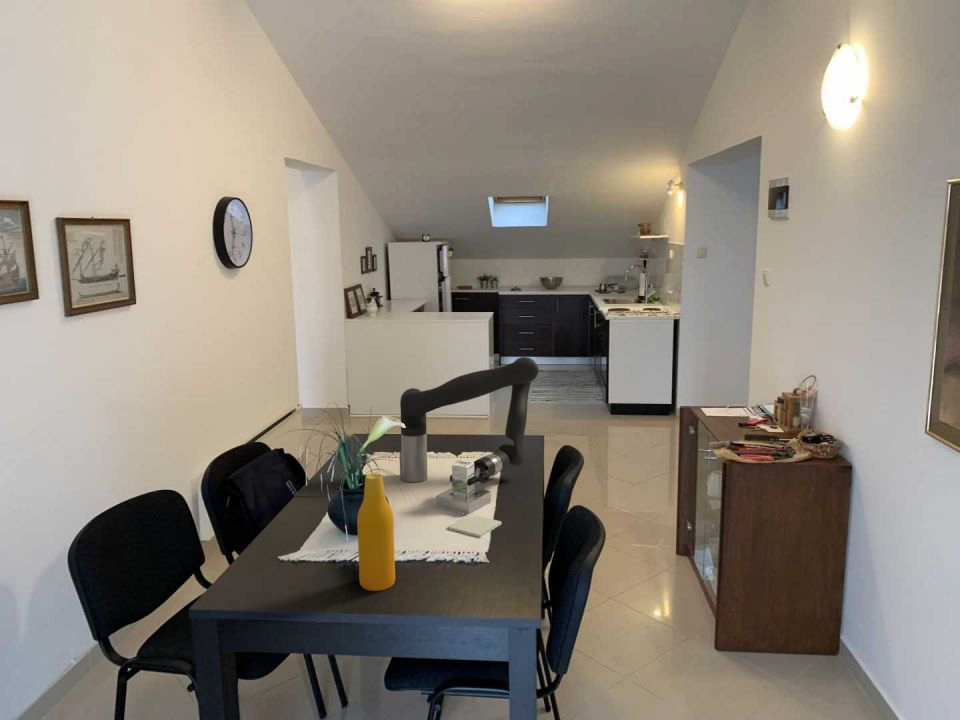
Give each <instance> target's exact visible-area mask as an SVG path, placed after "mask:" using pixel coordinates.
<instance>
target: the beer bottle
mask: <svg viewBox="0 0 960 720" xmlns="http://www.w3.org/2000/svg"><path fill="white" fill-rule="evenodd" d="M364 478H365V480H364V492H363V501H362V503H361V505H360V507H359V510H358V513H357V519H356V522H357V523H356V525H357V542H358V547H357V548H358V549H357V551H358V569H359V570H358V572H359V573H358V575H359V577H358V578H359V584H360V586H361V587H362V588H363V589H364V590H365V591H371V592H379V591H385V590H387V589H389V588H391V587H393V585H394V584H395V581H396V567H395V566H396V565H395V564H396V563H395V561H396V560H395V559H396V558H395V534H394V533H395V532H394V531H395V530H394V527H395V526H394V522H395V521H394V515H393V510H392V507H391V506H390V504H389V502H388V500H387V497H386V492H385V485H384V479H383V475H382V474H380V473H369V474H366V475H365V477H364Z"/></svg>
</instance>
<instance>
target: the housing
mask: <svg viewBox="0 0 960 720" xmlns="http://www.w3.org/2000/svg"><path fill="white" fill-rule="evenodd" d="M474 493H475V495H473V496H471V497H469V498H467V499H465V498H461V497H456V496H453V489H452V487H451V488H449V489H447V490H445V491H443V492H441V493H438V494H437V495H436V496H435V497H436V498H435V502H436V503H435V504H436V505H435V506H436V508H437V509H442V508H443V509H442V510H446V509H447V510H446V511H450V510H451V511H450V512H454V511H455V513H458V512H460V513H459V514H462V513H464V514H463V515H466V514H471V513H472V514H474V513H475V512H474V511H476V510H477V511H479V510H481V509H482V508H484V507H486V506H488V505H489V504H491V503H490V502H492V498H491V497H492V491H491V490H486V489H484V488H483V489H481V488H478V487H474ZM487 504H488V505H487ZM485 505H486V506H485ZM483 506H484V507H483ZM480 508H481V509H480ZM478 509H479V510H478ZM477 511H476V512H477ZM473 512H474V513H473Z"/></svg>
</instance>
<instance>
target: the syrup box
mask: <svg viewBox="0 0 960 720" xmlns="http://www.w3.org/2000/svg"><path fill="white" fill-rule="evenodd" d="M451 475H452V482H451V485H452V487H451V488H452V489H453V496H456V497H461V498H465V499H467V498H469V497H471V496H473V495H475V493H474V488H475V484H473V485H471V486H468V485H467V480H468V479H469V478H471V477H473V476H474V461H467V460H457V461H455V462H454V463H453V464H451Z"/></svg>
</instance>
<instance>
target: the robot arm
mask: <svg viewBox="0 0 960 720" xmlns="http://www.w3.org/2000/svg"><path fill="white" fill-rule="evenodd" d="M539 370H540V369H539V364H538V363H537V362H536V361H535V360H534V359H532V358H530V357H527V356H521V357H518V358H516V359H515V360H514V361H513V362H511V363H509V364H506V365H504V366H503V365H502V366H500V367H496V368H490V369H483V370H478V371H477V370H476V371H473V372H469V373H465V374H463V375H459V376H457V377H454V378H452V379H450V380H448V381H446V382H445V383H443V384H440V385H439V386H437V387H433V388H431V389H426V390H420V389H419V388H414V387H413V388H409V389H406V390H404V391H403V392H402V394H401V397H400V400H399V401H400V403H399V404H400V406H399V407H400V423H401V422H402V423H404V424H405V426H406V428H402V427H401V426H400V438H401V441H400V442H401V452H399V479H401V480H402V481H404V482H406V483H421V482H424V481H426V480H427V479H428V444H427V443H428V441H427V440H428V438H427V434H428V433H427V413H429V412H432V411H434V410H438V409H439V408H443V407H447V406H452V405H455V404H459V403H463V402H466V401H470V400H474V399H477V398H480V397H483V396H485V395H488V394H491V393H493V392H496V391H499V390H501V389H503V388H507V387H511V393H510V394H511V395H510V403H509V407H508V413H507V417H506V418H507V419H506V424H505V430H504V431H505V433H504V435H505V437H507V439H510V440H512V442H513V445H512V444H507V443H503V444H501V445H499V446H498V447H497V449H495V451H494V452H492V453H490V454H487V455H484V456H481V458H480V457H479V458H478V459H476V460H474V461H473V462H474V476H473V477H471V478H469V479H468V480H467V485H468V486H471V485H473V484H474V485H475V484H479V483H480V484H481V485H484V484H486V483H489V482H491V481H493V480H494V477H495V476H496V475H498V474H499V473H501V472H502V471H504V470H506V469H507V468H509V466H514V467H521V466H522V465H523V464H524V463H525V461H526V458H527V450H526V443H525V442H526V441H525V433H526V428H527V427H526V426H527V420H528V399H529V394H530V393H529V392H530V387H531V384H532V382H533V381H534V380H536V378H537V377H538V374H539ZM449 482H451V483H452V474H450V475H449Z"/></svg>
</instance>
